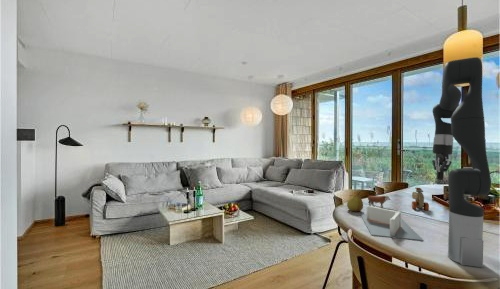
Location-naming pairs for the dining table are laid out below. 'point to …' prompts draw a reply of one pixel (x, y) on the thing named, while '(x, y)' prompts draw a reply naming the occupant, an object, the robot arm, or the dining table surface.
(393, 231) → the fence fixed
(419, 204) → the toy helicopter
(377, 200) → the bull figurine
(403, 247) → the dining table surface
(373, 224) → the card
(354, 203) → the fruit
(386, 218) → the fence gate
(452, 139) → the robot arm
